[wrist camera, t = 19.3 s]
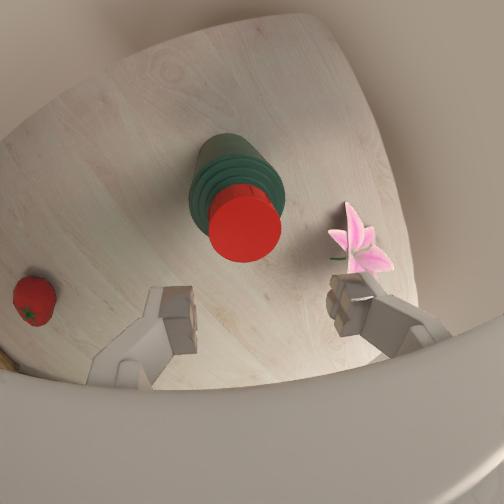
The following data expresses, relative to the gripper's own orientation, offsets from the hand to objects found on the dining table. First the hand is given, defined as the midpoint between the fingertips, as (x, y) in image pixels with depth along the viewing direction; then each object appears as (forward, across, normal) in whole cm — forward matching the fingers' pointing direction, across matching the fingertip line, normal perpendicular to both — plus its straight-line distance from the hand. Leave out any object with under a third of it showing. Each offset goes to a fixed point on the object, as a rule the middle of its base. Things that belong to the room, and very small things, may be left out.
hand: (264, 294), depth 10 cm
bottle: (+24, 0, 0) cm, 24 cm away
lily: (+24, -17, +11) cm, 31 cm away
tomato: (+24, +32, +17) cm, 43 cm away
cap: (+6, 0, 0) cm, 6 cm away
